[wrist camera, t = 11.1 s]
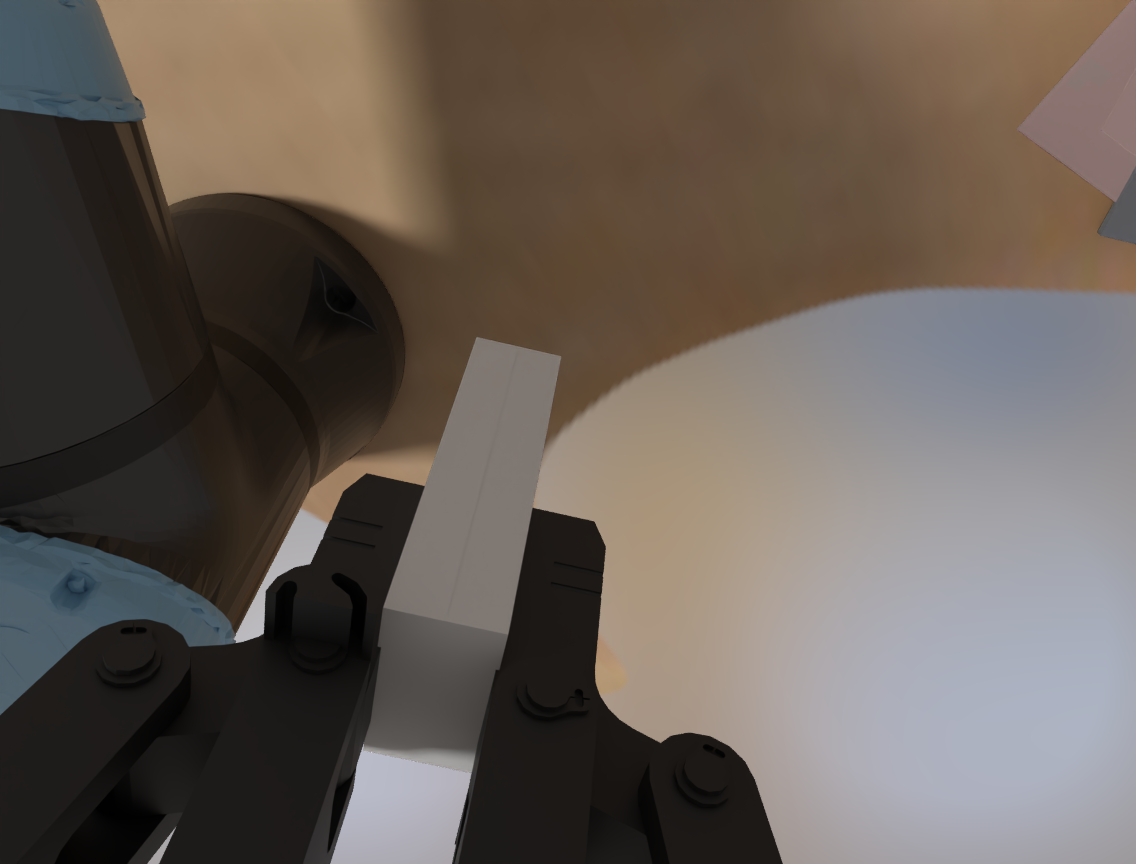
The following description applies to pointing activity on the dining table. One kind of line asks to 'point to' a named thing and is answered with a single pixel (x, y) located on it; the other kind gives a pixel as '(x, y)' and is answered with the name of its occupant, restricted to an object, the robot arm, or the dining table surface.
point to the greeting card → (1094, 110)
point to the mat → (1122, 215)
